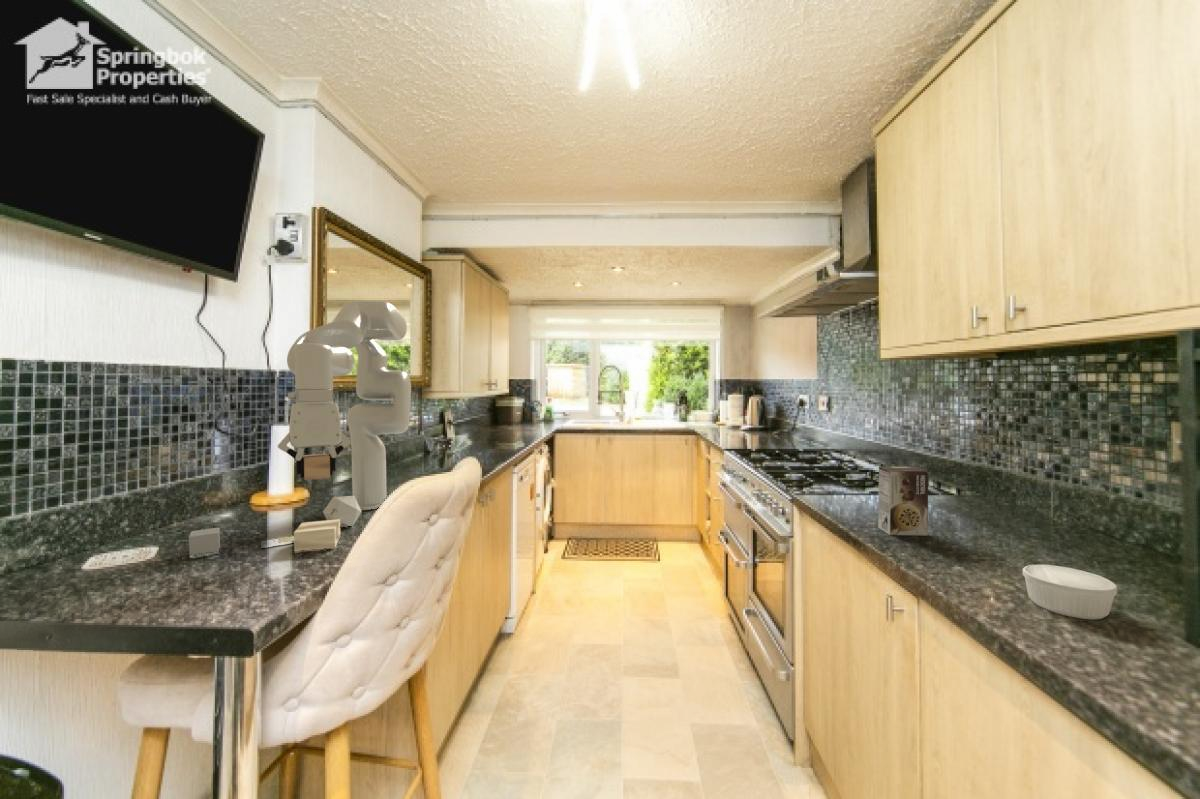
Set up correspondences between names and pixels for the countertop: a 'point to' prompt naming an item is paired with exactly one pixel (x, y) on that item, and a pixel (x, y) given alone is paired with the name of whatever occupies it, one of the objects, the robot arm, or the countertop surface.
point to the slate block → (204, 541)
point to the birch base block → (317, 535)
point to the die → (343, 510)
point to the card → (285, 539)
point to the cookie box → (903, 500)
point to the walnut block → (316, 466)
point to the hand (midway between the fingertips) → (316, 474)
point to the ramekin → (1069, 591)
